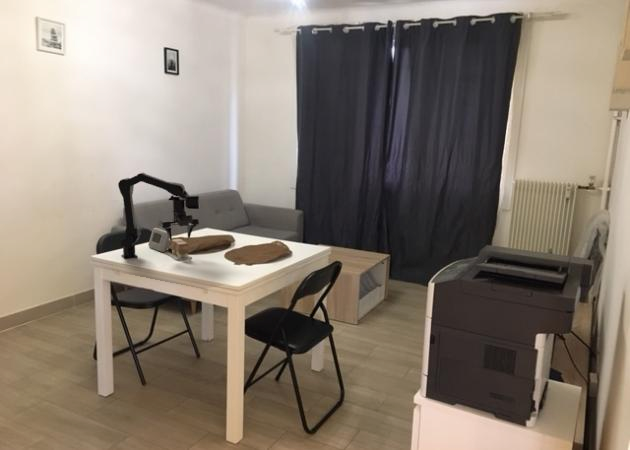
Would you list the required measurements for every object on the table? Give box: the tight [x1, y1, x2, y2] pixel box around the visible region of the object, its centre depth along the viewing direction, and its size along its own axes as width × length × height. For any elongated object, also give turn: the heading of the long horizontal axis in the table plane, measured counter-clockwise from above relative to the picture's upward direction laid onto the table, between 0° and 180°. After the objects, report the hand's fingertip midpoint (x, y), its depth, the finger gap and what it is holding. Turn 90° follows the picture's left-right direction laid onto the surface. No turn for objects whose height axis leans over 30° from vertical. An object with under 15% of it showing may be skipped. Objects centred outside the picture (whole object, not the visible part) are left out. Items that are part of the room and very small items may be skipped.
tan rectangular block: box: [170, 238, 189, 254], centre depth 257 cm, size 12×4×5 cm, turn 34°
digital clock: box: [148, 227, 171, 253], centre depth 271 cm, size 16×9×11 cm, turn 34°
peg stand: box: [168, 249, 192, 261], centre depth 258 cm, size 12×8×3 cm, turn 34°
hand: (179, 239), depth 257 cm, fingers open, 9 cm apart
